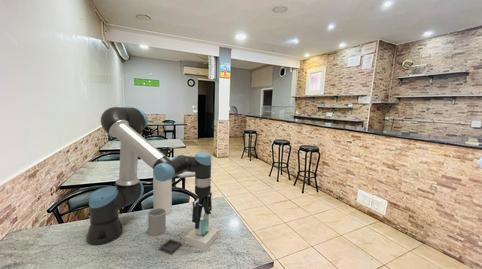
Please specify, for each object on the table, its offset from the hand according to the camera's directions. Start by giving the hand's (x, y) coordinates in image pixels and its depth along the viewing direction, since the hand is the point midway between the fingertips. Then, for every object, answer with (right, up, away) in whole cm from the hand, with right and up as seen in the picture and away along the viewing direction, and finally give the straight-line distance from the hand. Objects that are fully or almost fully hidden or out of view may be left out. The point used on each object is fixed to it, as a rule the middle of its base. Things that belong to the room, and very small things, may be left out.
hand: (202, 229), depth 100 cm
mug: (-25, -4, +8) cm, 27 cm away
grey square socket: (-14, -6, -6) cm, 16 cm away
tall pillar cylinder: (-30, -2, +27) cm, 41 cm away
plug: (0, -6, +1) cm, 6 cm away
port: (0, -6, +1) cm, 6 cm away
